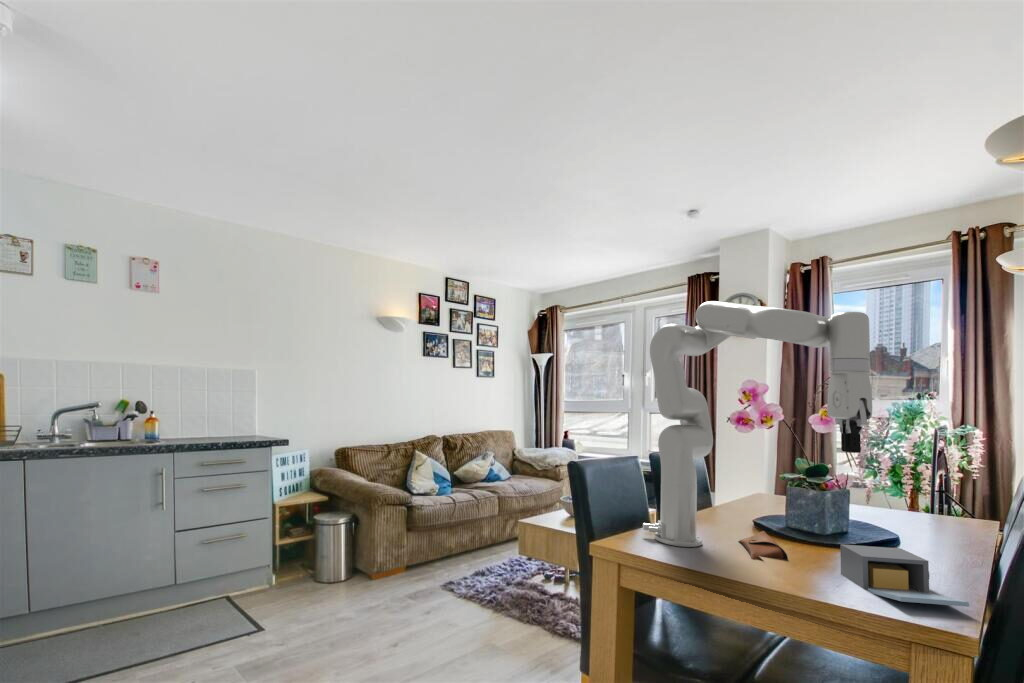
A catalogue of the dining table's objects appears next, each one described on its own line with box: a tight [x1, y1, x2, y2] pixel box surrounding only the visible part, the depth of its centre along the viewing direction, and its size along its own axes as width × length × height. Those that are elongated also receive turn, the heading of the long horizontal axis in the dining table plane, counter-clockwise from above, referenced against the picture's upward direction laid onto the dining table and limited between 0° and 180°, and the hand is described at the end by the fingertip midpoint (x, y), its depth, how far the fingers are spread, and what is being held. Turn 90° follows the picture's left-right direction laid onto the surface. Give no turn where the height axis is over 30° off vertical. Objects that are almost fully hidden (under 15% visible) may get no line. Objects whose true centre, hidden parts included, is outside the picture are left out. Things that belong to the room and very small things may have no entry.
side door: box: [867, 587, 970, 608], centre depth 104 cm, size 12×1×11 cm
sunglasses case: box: [737, 530, 789, 561], centre depth 138 cm, size 18×7×7 cm
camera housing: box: [839, 543, 930, 593], centre depth 115 cm, size 15×9×7 cm, turn 84°
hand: (851, 451), depth 115 cm, fingers closed
